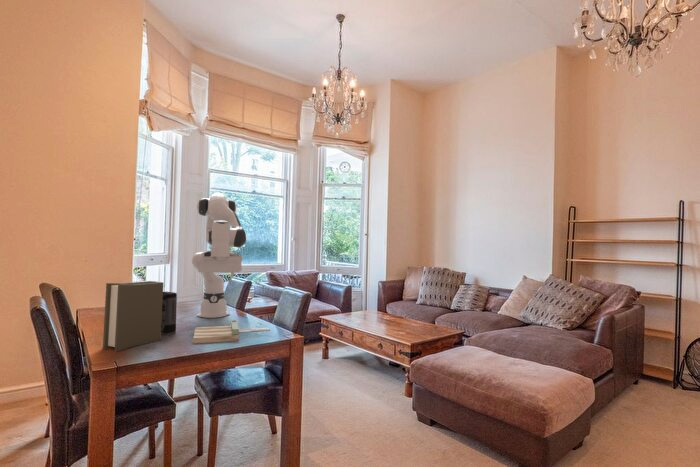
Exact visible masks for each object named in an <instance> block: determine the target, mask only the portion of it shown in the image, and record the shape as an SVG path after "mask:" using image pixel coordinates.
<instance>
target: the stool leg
mask: <svg viewBox="0 0 700 467" xmlns="http://www.w3.org/2000/svg"><path fill="white" fill-rule="evenodd" d="M238 323H239V322H238V320H236V319H232V320H231V321H230V326H231V330H232V335H234V334H239V333H240V332H239V329H240V328H239V324H238ZM239 335H240V334H239Z"/></svg>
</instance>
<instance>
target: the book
mask: <svg viewBox="0 0 700 467" xmlns="http://www.w3.org/2000/svg"><path fill="white" fill-rule="evenodd" d="M105 284H106V285H105V301H104V303H105V304H104V317H103V318H104V320H103V337H102V340H103V341H102V349H104V350H106V349H108V348H111V347H113V348H114V352H115V353H116V352H117V353H118V352H121V351H123V350H126V349H129V348H132V347H136V346H140V345H144V344H149V343H153V342H158V341H161V339H162V336H161V335H162V334H161V320H162V301H163V292H164V282H163V281H156V280H155V281H154V280H146V281H136V282H135V281H133V282H123V283H121V282H119V283H117V282H106V283H105Z"/></svg>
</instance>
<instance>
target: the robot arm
mask: <svg viewBox="0 0 700 467" xmlns="http://www.w3.org/2000/svg"><path fill="white" fill-rule="evenodd" d="M196 210H197V212H198V214H199V215H201V216H203V217H207V218H206V229H205V241H206V243H207V244H208V245H209V246H210V250H206V251H199V252H195V254H194V255H193V256H192V259H191V263H192V267H193V268H195V269H196V270H197V271H198V272H199V273H200V274H201V276H202V278H203V282H204V283H203V284H204V292H203V295H202V296H203V300H201V302H200V308H199V310H200V312H199V313H197V314H196V317H201V318H211V319H213V318H216V319H217V318H222V317H226V316H230V315H231V314H230V312H229V311H228V310H227V309H228V308H227V304H228V303H227V300H226V299H225V290H224V288H225V285H224V284H225V280H224V278H223V277H221V276H220V275H218V274H216V273H230V275H231V276H230V277H228V281H227V282H231V283H232V282H233V279H232V278H234V276H235V273H241V272H242V262H243V260H244V259H243V255H242V254H240V253H234V252H232V250H231V248H241V247H243V246H244V245H245V244H246V242H247V234H246V231H245V229H244V228H243V227H242V224H241V222H240V219H239V216H238V214H237V213H236V212H237V203H236V202H235V200H234V199H230V198H229V199H227V196H225V194H223V193H222V192H215V193H213V194H211V195H210V197H209V198H207V197H204V198H200V199H199V200H198V202H197V204H196Z"/></svg>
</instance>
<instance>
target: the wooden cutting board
mask: <svg viewBox="0 0 700 467" xmlns="http://www.w3.org/2000/svg"><path fill="white" fill-rule="evenodd" d="M251 331H255V332H268V331H269V332H270V331H271V330H270V328H269V327H260V328H259V327H258V328H257V327H256V328H239V333H250V332H251ZM251 333H252V332H251ZM239 338H240V334H234V335H232V330H231V325H220V326H218V325H217V326H202V327H201V326H200V327H195V329H194V334H193V338H192V343H193V344H203V343H205V344H206V343H207V344H208V343H219V342H220V343H221V342H235V341H237V342H238V341H240V340H239Z"/></svg>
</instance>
